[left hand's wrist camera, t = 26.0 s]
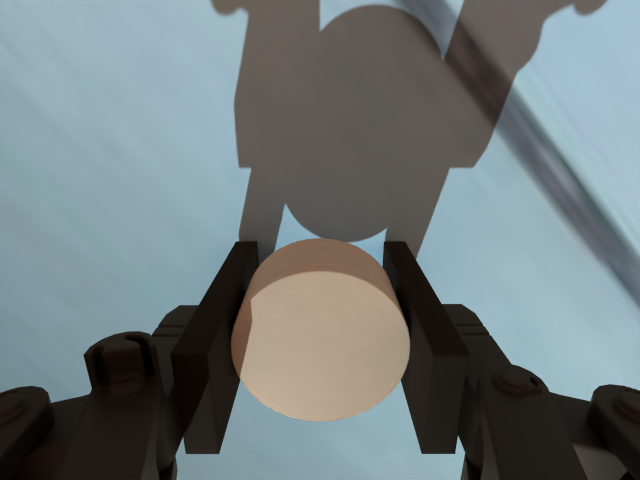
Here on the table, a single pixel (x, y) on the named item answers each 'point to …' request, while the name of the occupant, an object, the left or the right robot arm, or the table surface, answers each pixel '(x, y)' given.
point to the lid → (320, 332)
